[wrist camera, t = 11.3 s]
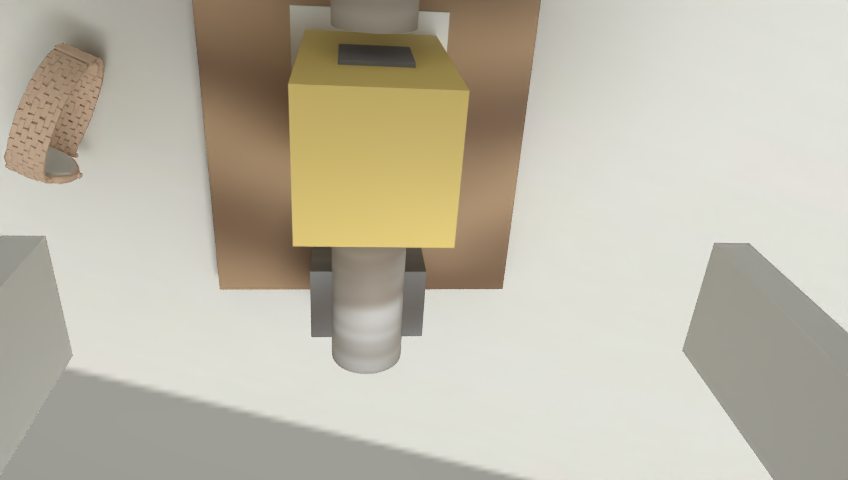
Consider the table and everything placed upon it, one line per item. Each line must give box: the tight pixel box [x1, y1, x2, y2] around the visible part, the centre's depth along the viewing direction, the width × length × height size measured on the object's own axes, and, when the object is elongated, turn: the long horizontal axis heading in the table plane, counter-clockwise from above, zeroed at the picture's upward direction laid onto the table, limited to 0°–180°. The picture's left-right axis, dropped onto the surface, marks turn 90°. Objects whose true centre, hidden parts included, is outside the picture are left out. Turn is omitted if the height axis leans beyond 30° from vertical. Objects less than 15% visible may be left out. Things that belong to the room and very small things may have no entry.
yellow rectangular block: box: [288, 29, 470, 248], centre depth 23 cm, size 5×5×8 cm
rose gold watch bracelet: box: [4, 43, 104, 184], centre depth 25 cm, size 3×5×5 cm, turn 152°
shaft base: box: [192, 0, 541, 374], centre depth 25 cm, size 19×13×7 cm
